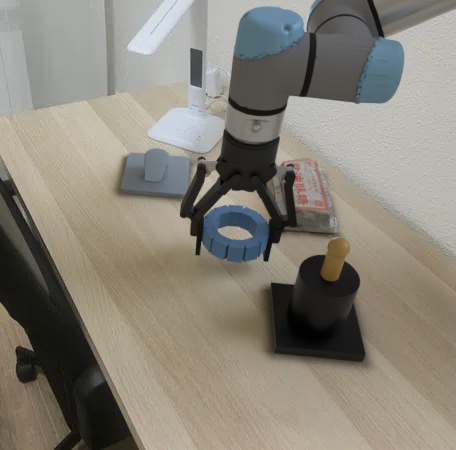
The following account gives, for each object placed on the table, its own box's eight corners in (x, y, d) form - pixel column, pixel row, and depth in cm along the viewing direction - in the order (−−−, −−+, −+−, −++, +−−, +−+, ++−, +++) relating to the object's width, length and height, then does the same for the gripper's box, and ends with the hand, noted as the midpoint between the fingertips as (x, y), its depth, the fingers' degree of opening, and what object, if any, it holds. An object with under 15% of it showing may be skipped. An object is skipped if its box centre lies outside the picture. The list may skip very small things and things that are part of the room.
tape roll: (264, 222, 89) (267, 207, 87) (267, 265, 82) (271, 250, 80) (202, 216, 90) (204, 202, 88) (200, 259, 82) (202, 244, 80)
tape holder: (348, 296, 84) (380, 213, 74) (362, 361, 75) (401, 278, 64) (269, 289, 85) (289, 206, 74) (274, 353, 76) (298, 268, 65)
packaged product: (344, 213, 92) (284, 209, 92) (337, 235, 95) (279, 231, 95) (326, 154, 105) (274, 150, 106) (321, 174, 109) (270, 171, 109)
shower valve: (117, 177, 97) (128, 132, 108) (117, 201, 100) (128, 156, 111) (187, 183, 96) (191, 137, 107) (185, 207, 99) (189, 161, 111)
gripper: (165, 139, 71) (158, 262, 85) (342, 153, 70) (305, 276, 84) (169, 110, 76) (162, 230, 91) (334, 123, 75) (300, 243, 90)
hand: (231, 252), depth 88 cm, fingers closed on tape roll, 10 cm apart
